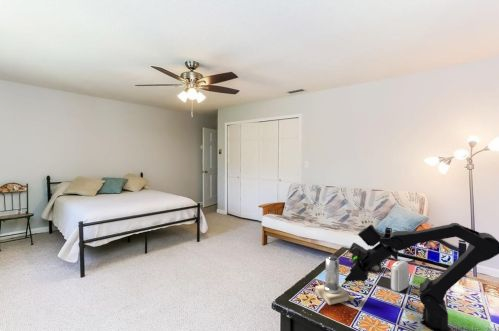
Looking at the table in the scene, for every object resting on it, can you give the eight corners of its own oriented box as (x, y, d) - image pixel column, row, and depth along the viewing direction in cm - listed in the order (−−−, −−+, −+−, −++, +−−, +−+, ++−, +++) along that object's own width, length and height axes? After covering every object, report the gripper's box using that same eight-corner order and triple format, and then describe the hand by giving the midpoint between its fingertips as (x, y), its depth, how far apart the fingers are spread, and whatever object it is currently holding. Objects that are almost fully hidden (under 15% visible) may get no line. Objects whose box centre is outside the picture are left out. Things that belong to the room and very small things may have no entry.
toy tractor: (383, 274, 129) (383, 255, 129) (349, 270, 134) (350, 252, 134) (380, 266, 139) (380, 248, 139) (349, 262, 145) (349, 245, 144)
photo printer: (400, 282, 120) (400, 257, 120) (410, 286, 117) (410, 260, 116) (389, 289, 115) (389, 262, 114) (399, 293, 111) (399, 265, 111)
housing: (343, 290, 108) (343, 257, 108) (334, 295, 104) (334, 261, 104) (329, 283, 114) (329, 252, 113) (320, 289, 110) (320, 256, 109)
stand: (349, 300, 106) (349, 293, 106) (329, 304, 103) (329, 297, 103) (333, 288, 116) (333, 282, 115) (315, 292, 112) (315, 286, 112)
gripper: (365, 232, 109) (339, 252, 116) (357, 245, 94) (327, 267, 100) (385, 253, 105) (357, 273, 112) (380, 270, 90) (348, 292, 96)
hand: (348, 275), depth 105 cm, fingers open, 9 cm apart
